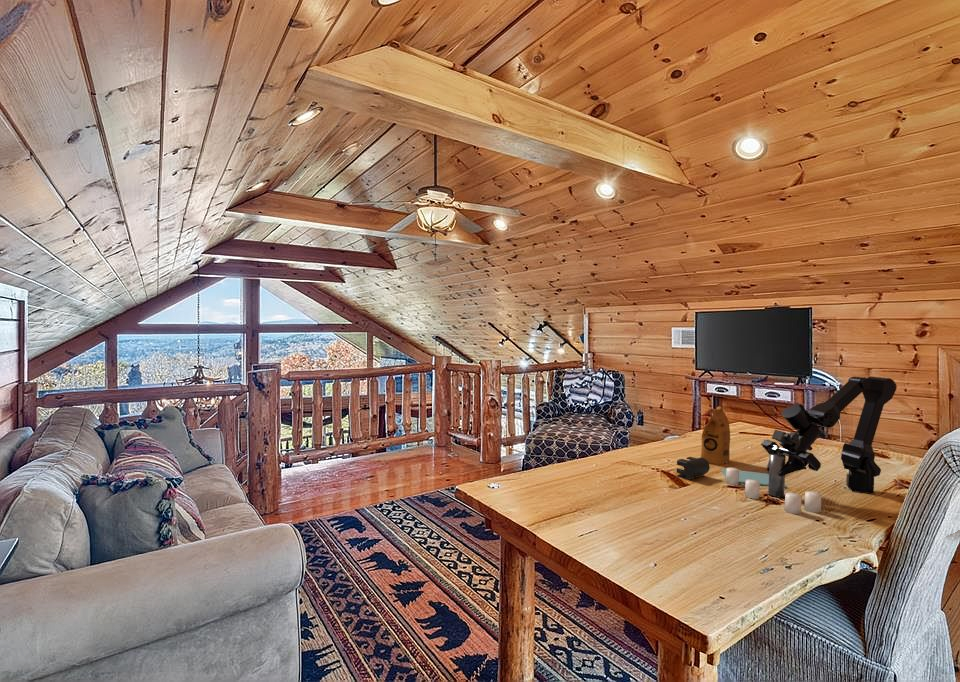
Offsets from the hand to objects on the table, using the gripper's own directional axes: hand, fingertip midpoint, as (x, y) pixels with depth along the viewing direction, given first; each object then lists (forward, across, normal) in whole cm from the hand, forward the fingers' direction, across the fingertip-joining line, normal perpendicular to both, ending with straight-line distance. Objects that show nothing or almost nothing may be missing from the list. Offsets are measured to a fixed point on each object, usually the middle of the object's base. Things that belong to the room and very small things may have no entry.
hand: (773, 473), depth 152 cm
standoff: (+4, 0, +6) cm, 7 cm away
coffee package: (0, -38, +11) cm, 40 cm away
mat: (+1, -16, +10) cm, 19 cm away
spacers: (+7, 0, +3) cm, 8 cm away
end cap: (+16, -21, -5) cm, 26 cm away
